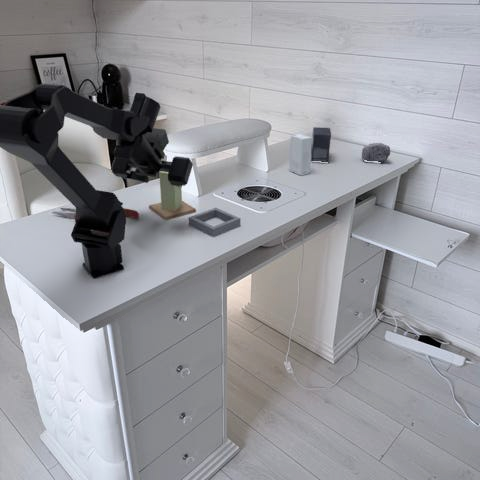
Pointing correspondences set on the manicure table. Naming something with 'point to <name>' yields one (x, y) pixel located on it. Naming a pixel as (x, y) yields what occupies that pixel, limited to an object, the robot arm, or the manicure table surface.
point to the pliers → (71, 214)
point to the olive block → (169, 193)
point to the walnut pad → (172, 214)
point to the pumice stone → (376, 152)
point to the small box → (320, 144)
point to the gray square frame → (230, 224)
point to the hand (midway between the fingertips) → (164, 183)
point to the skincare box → (300, 154)
